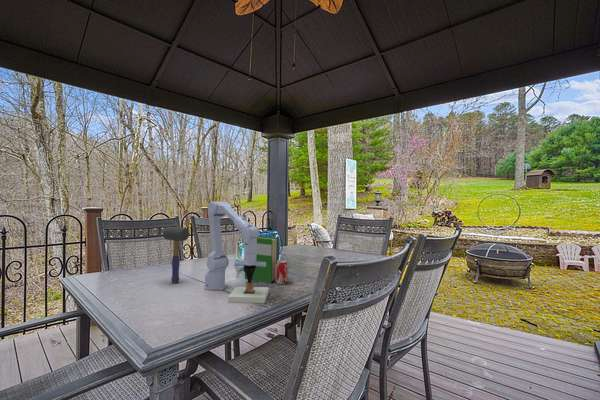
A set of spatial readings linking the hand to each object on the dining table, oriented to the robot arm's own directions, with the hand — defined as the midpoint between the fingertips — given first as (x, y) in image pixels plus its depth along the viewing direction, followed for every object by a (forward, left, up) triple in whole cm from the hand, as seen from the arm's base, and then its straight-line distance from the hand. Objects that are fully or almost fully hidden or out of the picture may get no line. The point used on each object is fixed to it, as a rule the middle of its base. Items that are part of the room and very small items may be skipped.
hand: (249, 281), depth 128 cm
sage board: (0, 0, -7) cm, 7 cm away
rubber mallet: (-44, +20, -7) cm, 49 cm away
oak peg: (0, 0, -7) cm, 7 cm away
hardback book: (+1, +29, -7) cm, 30 cm away
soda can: (+13, +23, -7) cm, 27 cm away
